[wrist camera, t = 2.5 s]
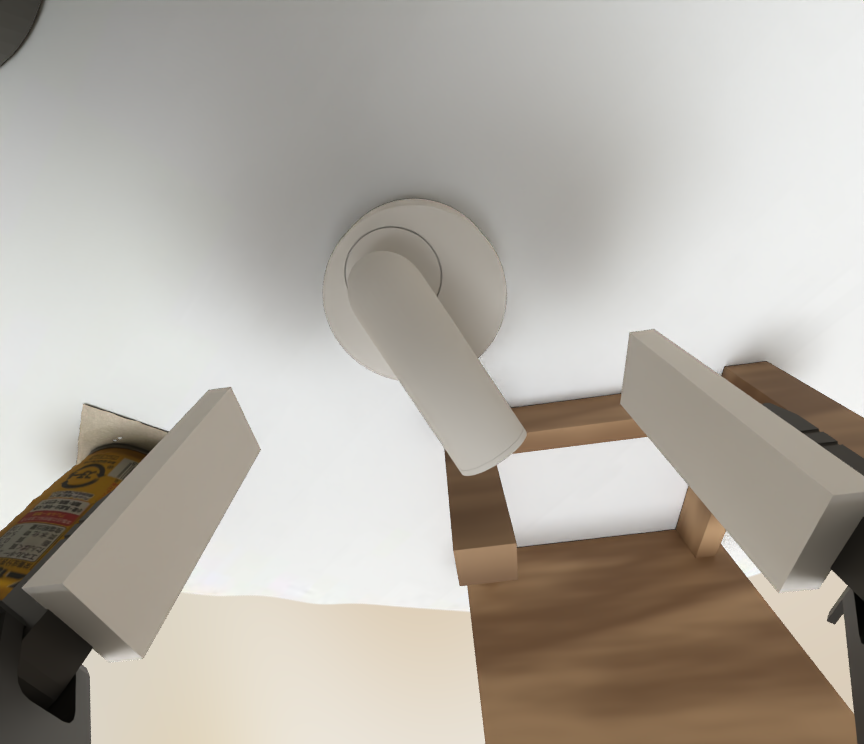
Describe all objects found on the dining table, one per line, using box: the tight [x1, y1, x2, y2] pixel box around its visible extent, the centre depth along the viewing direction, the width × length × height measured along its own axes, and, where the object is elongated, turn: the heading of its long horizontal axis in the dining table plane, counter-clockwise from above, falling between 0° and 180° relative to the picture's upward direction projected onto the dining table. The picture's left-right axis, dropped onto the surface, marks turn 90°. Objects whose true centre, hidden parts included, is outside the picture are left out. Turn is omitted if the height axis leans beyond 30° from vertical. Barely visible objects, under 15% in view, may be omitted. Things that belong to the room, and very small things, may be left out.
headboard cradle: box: [444, 361, 864, 744], centre depth 22 cm, size 18×20×13 cm
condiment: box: [0, 404, 167, 601], centre depth 20 cm, size 7×8×12 cm
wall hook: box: [323, 199, 527, 476], centre depth 16 cm, size 9×10×10 cm
